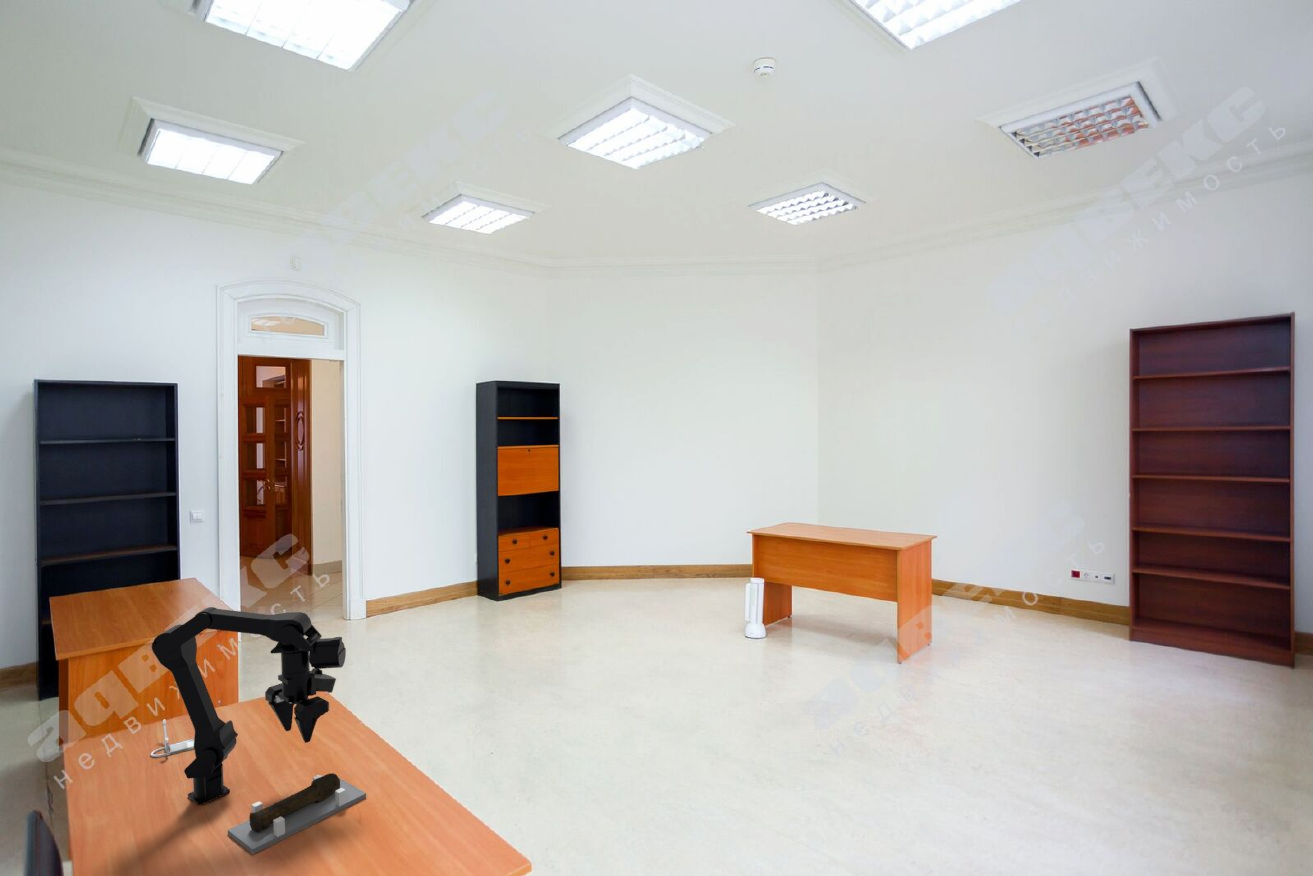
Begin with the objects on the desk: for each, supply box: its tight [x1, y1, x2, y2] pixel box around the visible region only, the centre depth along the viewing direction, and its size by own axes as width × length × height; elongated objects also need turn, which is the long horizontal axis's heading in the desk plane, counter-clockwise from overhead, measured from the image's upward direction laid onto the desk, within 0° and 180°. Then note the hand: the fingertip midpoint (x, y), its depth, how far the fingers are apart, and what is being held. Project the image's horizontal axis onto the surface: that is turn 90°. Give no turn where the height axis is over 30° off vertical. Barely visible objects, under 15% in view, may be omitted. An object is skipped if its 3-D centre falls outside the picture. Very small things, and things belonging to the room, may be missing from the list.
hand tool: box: [248, 772, 341, 833], centre depth 148 cm, size 19×4×5 cm, turn 144°
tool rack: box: [227, 774, 367, 855], centre depth 149 cm, size 11×24×4 cm, turn 144°
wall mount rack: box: [150, 718, 194, 758], centre depth 181 cm, size 16×14×6 cm
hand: (297, 736), depth 159 cm, fingers open, 9 cm apart
